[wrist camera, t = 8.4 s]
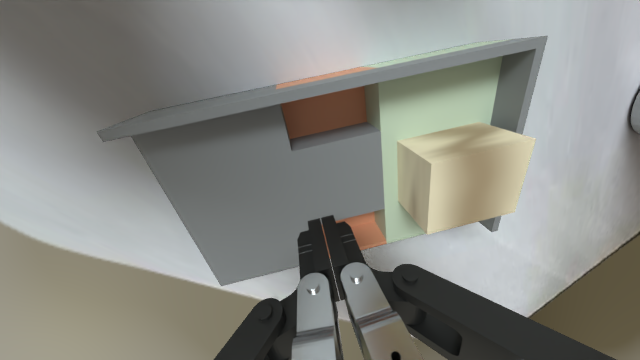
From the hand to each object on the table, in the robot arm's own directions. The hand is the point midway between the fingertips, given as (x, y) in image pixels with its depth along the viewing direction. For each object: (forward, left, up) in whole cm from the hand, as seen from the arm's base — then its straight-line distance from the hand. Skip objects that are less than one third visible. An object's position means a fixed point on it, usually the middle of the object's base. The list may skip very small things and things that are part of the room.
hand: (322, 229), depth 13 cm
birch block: (-9, 0, -4) cm, 10 cm away
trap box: (-2, 0, -7) cm, 7 cm away
